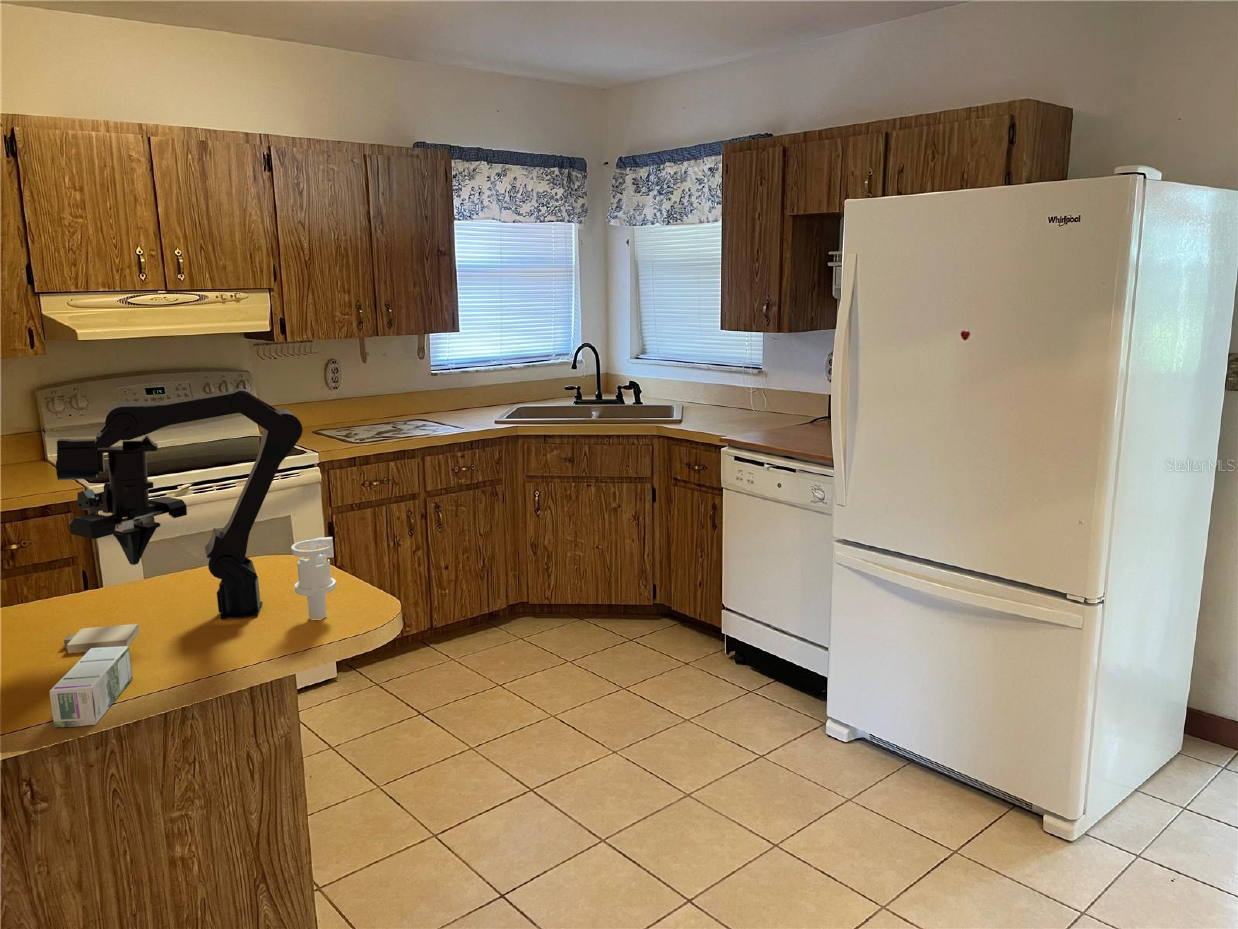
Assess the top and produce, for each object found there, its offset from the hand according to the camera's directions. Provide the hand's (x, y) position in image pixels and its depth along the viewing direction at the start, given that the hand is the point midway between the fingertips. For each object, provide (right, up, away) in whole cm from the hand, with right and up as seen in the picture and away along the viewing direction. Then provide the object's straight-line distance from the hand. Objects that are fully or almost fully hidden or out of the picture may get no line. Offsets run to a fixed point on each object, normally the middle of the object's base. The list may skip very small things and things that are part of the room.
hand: (134, 564), depth 156 cm
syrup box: (+6, -13, -17) cm, 23 cm away
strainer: (+30, -11, +7) cm, 32 cm away
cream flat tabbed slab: (-3, -13, -3) cm, 14 cm away
